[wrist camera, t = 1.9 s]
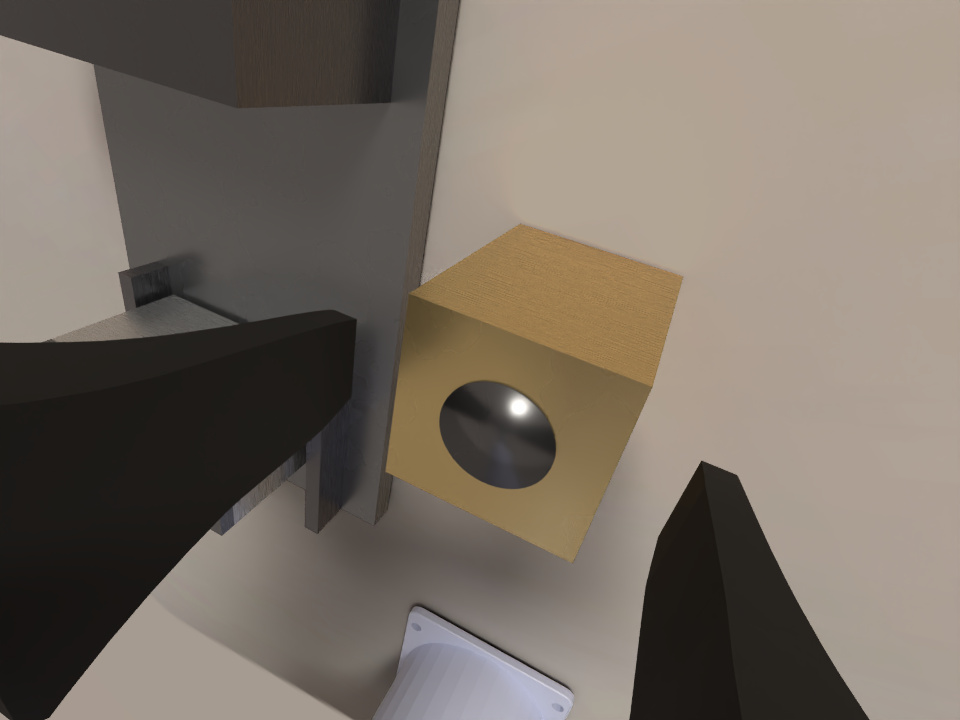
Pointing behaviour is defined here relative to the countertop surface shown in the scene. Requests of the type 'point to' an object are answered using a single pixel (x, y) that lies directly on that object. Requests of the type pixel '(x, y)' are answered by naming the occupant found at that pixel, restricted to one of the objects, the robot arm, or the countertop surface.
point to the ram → (175, 319)
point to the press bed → (274, 175)
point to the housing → (528, 381)
